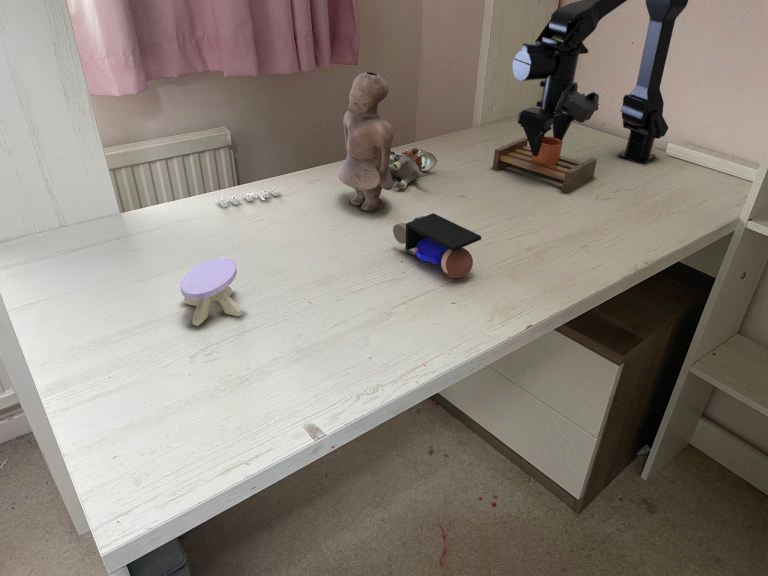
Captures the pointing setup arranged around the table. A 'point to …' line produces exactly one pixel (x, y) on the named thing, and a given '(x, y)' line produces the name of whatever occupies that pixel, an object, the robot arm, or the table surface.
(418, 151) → the figurine
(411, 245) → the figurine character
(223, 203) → the figurines set
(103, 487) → the table surface
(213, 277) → the toy table
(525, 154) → the rack
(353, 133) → the clay figurine
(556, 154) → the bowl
